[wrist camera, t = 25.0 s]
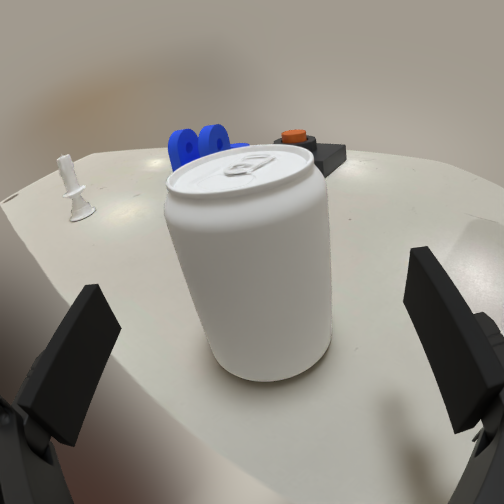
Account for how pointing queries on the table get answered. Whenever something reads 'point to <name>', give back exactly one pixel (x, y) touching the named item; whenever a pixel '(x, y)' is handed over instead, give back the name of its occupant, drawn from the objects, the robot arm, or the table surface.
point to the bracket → (198, 144)
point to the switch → (294, 136)
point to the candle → (73, 189)
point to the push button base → (322, 154)
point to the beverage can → (256, 256)
